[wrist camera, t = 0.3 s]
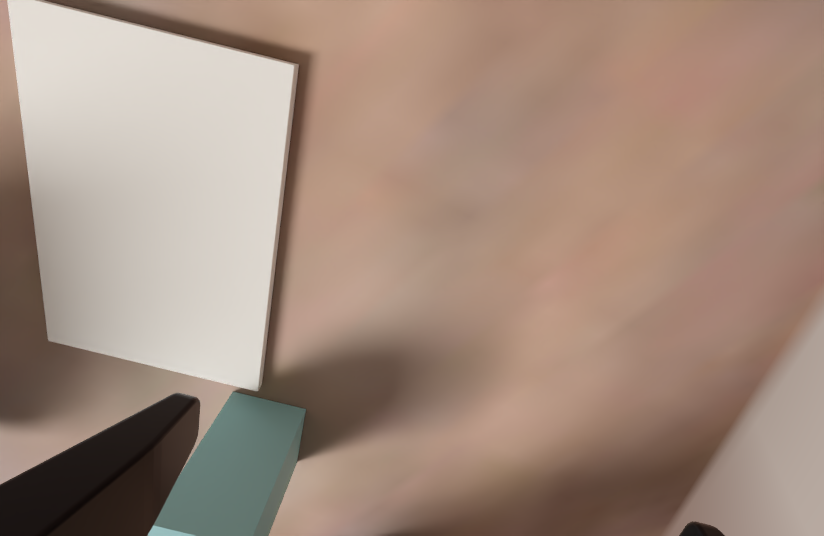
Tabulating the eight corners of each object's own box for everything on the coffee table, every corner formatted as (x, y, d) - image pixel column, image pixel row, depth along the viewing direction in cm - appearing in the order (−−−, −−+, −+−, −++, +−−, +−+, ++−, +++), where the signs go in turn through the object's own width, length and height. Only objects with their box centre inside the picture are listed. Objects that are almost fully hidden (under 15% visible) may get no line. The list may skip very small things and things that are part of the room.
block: (297, 461, 29) (239, 610, 21) (228, 445, 29) (146, 588, 21) (306, 409, 27) (246, 551, 20) (233, 391, 27) (145, 527, 19)
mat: (261, 384, 26) (257, 391, 26) (56, 334, 26) (47, 340, 26) (298, 64, 19) (294, 65, 19) (19, -6, 19) (6, -7, 19)
